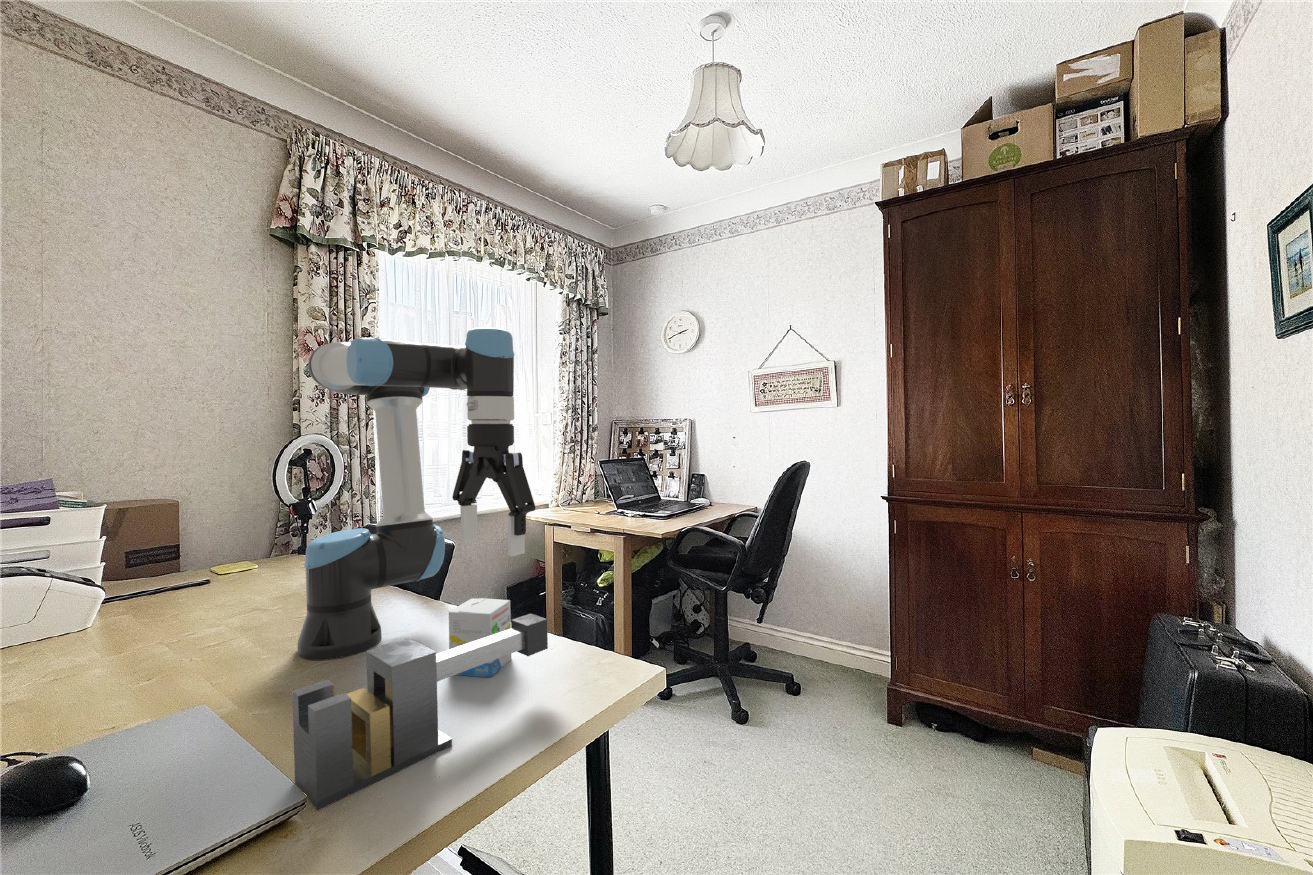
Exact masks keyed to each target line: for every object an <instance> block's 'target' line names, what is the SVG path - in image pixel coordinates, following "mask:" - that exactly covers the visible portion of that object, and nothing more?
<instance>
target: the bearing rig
mask: <svg viewBox="0 0 1313 875" xmlns="http://www.w3.org/2000/svg"><path fill="white" fill-rule="evenodd" d="M365 651H366V652H365V653H366V654H365V655H366V683H367V684H366V687H367V689H366V690H367V691H368V692H369V693H371V694H372V695H374V696H375V697H377V698H378V699H380V700H381V701H383V702H384V703H385V704H387V705H388V706H389V713H390V751H391V767H390V768H388V769H386V770H384V771H382V772H380V773H378V774H376V775H374V776H371V775H369V774H368V773H367V772H366V771H365V770H364V769H363V768H362V767H361V766H360V765H359V764H357V763H356V762H355V761H354V760H353V749H352V713H351V698H350V697H349V696H348V695H346V694H347V693H346V692H342V693H340V694H337V695H335V696H334V683H332V681H330V680H329V679H325V680H321V681H319V682H315V683H313V684H308V685H305V686H303V687H300V688H296V689H294V690H292V692H291V694H292V723H293V724H292V726H293V727H292V728H293V729H292V730H293V756H294V757H293V758H294V759H293V760H294V762H293V764H294V783H295V784H296V786H297V787H298V788H299V789H300V790H302V791H301V792H302V793H303V792H304V793H305V794H306V795H307V797H306V798H307V799H308V801H309V802H310V804H312V805H313V807H314V809H315V810H316V811H320V810H321V809H324V808H325V807H328V806H330V805H332V804H334V803H336V802H338V801H340V800H342V799H344V798H346V797H349V796H351V795H352V794H355V793H356V792H358V791H361V790H363V789H365V788H367V787H369V786H371V785H373V784H375V783H378V782H379V781H382V780H384V779H385V778H388V777H390V776H392V775H394V774H396V773H399V772H400V771H402V770H404V769H407V768H408V767H410V766H414V765H415V764H416V763H418V762H421V761H423V760H425V759H427V758H430V757H431V756H434V755H436V754H438V753H440V752H443V750H446V749H448V748H450V747H452V746H453V739H452V737H451V736H448V735H447V734H446V733H444V732H443V731H442V730H440V729H439V721H438V720H439V719H438V718H439V717H438V716H439V714H438V713H439V712H438V681H437V666H436V654H437V651H436V650H434V649H431V648H429V647H428V646H425V645H424V644H422V643H420V642H418V641H416V640H413V639H412V638H411V637H408V638H405V639H401V640H398V641H395V642H392V643H388V644H385V645H381V646H379V647H375V648H374V647H373V648H370V649H367V650H365ZM304 793H303V794H304ZM305 794H304V795H305Z"/></svg>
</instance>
